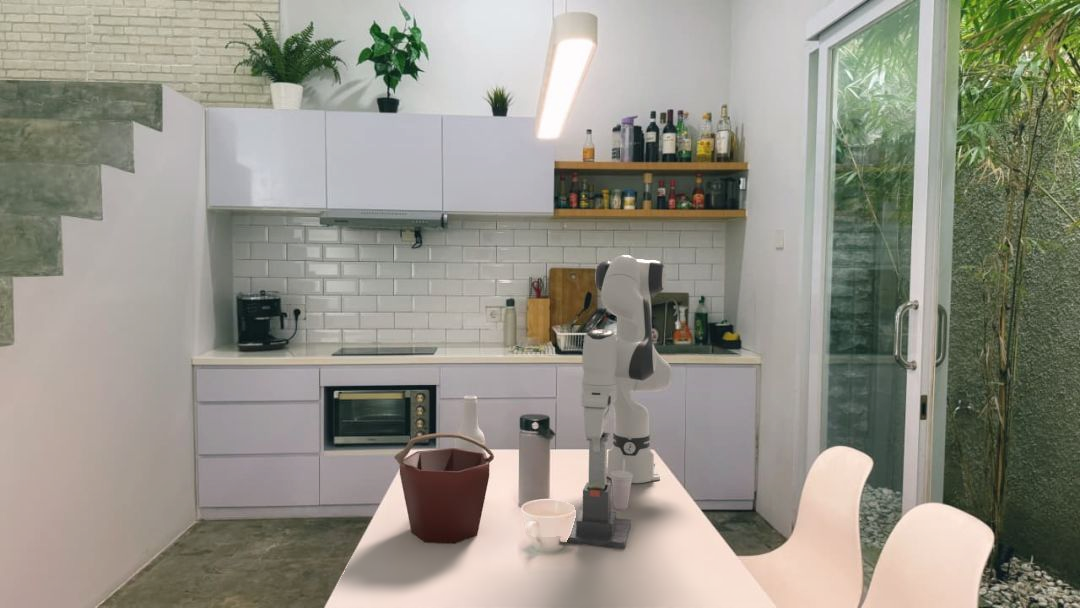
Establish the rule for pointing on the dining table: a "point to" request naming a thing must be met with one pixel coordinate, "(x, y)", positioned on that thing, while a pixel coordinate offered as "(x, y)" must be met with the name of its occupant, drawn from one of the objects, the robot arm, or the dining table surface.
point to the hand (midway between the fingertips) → (598, 448)
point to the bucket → (444, 489)
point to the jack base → (599, 522)
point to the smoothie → (621, 487)
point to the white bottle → (470, 426)
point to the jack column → (598, 464)
